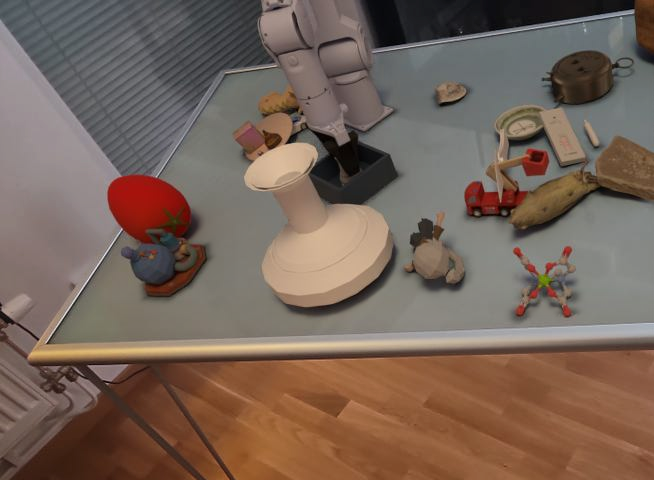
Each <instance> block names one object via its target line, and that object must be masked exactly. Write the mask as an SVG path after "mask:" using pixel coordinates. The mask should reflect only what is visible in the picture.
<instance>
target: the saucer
mask: <svg viewBox="0 0 654 480" xmlns="http://www.w3.org/2000/svg"><path fill="white" fill-rule="evenodd" d="M546 110H547V109H546V108H545V107H543V106H540V105H538V104H537V105H536V104H523V105H518V106H515V107H512V108H509V109H507V110H506V111H504V112H502V113H501V114H499V116H498V117H497V118H496V119H495V121H494V123H493V130H494V132H495V133H496V134H497V135H498V136H500V130H501V129H505V132H506V134H507V138H508V140H510V141H511V140H512V141H525V140H528V139H530V138H533V136H536V135H537V134H538V133H539V132H541V131H542V130H543V129H544V127H543V125H542V123H541V120H540V118H539V112H541V111H546Z"/></svg>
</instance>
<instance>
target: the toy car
mask: <svg viewBox="0 0 654 480" xmlns="http://www.w3.org/2000/svg"><path fill="white" fill-rule="evenodd" d="M291 119H292V122H293V127H292V132H291V134H290V137H292V136H293V135H295V134H296V133H297V132H300V131H304V130H306V129H308V128H307V127H306V126H305V123H306V122H307V120H306V118H305V116H304V115H297V116H291Z"/></svg>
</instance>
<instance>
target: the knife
mask: <svg viewBox="0 0 654 480" xmlns="http://www.w3.org/2000/svg"><path fill="white" fill-rule="evenodd" d="M499 136H500V137H499V147H498V149H497V147H496V146H495V147H494V162H495V169H496V178H497V183H496V185H497V192H499V198H500V203H501V198H502V191H503V184H504V182H503V179H502V176H501V174H500V172H501V171H500V170H499V167H498V164H497V163H498V162H501V161H505V160H508V154H509V153H508V152H509V146H510V144H509V139H508V138H507V134H506V132H505V129H501V130H500V135H499ZM504 171H505V172H506V169H505V170H504Z"/></svg>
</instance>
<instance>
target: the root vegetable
mask: <svg viewBox="0 0 654 480" xmlns="http://www.w3.org/2000/svg"><path fill="white" fill-rule="evenodd" d="M588 163H589V160H587V159H586V160H585V161H584V162H583V164H582V165H581V168H580V169H577V170H573V171H569V172H568V174H565V175H563V176H559V177H557V178H553V179H550V180H548V181H546V182H544V183H542V184H540V185H538V186H537V187H536V188H534V189H533V190H527V191H528V192H527V194H526V195H525V198H524V200H523V201H522V202H521V204H520V205H518V206H517V207H516V208H515V209H512V210H511V212H510V216H509V217H510V219H509V220H508V221H507V223H508V224H511V225H512V226H513V228H514V229H519V230H526V229H527V228H528V227H531V226H533V225H534V226H535V225H542V224H544V223H545V222H548V221H552V219H554V218H557V217H558V216H560V215H562V214H564V213H565V212H566V211H568V210H569V209H570V208H571V207H572V206H574V205H575V204H577V203H578V202H579V200H581V199H582V198H583V197H584V196H585V195H586V194H588V193H591V191H594V190H596V189H597V188H601V187H602V186H601V185H600V184H599V183H598V181H597V178H596V177H597V175H594V174H592V171H585V168H586V166H587V165H588Z"/></svg>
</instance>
